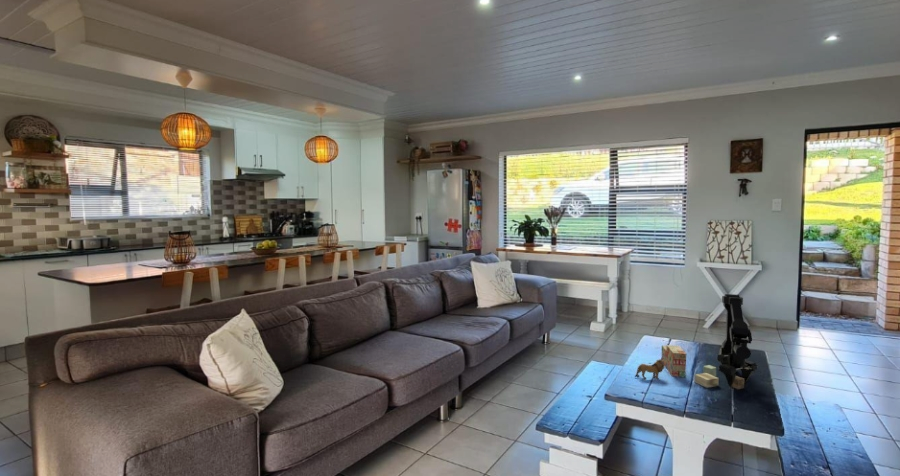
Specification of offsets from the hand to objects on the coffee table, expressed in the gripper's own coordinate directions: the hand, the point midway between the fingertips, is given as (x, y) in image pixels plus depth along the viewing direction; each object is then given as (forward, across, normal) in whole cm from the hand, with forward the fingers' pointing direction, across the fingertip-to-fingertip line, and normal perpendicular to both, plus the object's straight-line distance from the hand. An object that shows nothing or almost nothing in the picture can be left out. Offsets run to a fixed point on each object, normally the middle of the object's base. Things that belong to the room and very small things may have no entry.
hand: (737, 384), depth 213 cm
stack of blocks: (+1, +9, -28) cm, 30 cm away
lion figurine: (+1, +29, -24) cm, 38 cm away
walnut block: (+1, 0, 0) cm, 1 cm away
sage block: (+1, -1, -15) cm, 15 cm away
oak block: (+1, +10, -8) cm, 13 cm away
